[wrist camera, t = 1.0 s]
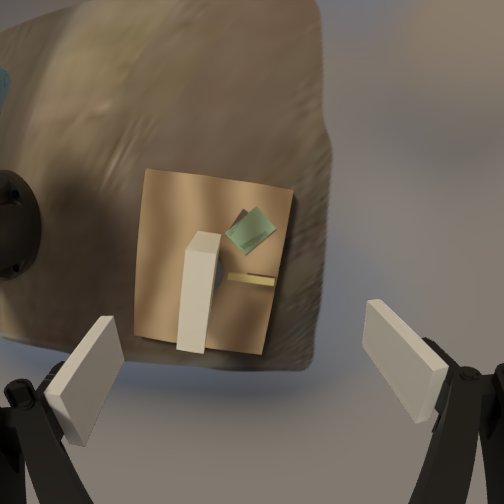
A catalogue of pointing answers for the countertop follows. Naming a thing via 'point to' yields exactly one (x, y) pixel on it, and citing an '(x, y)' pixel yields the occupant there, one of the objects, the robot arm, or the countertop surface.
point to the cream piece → (203, 289)
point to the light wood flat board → (230, 252)
